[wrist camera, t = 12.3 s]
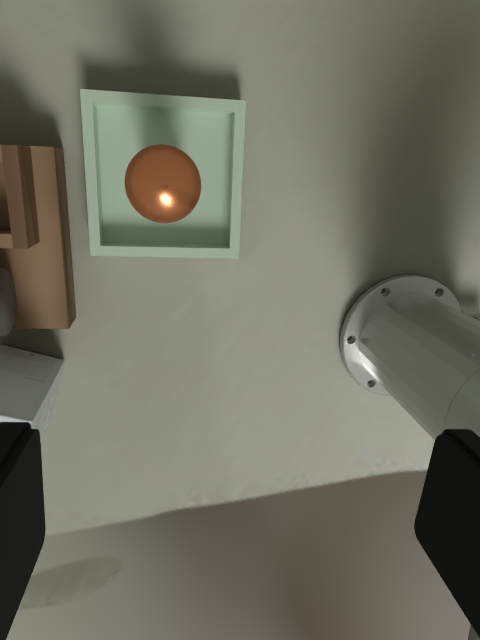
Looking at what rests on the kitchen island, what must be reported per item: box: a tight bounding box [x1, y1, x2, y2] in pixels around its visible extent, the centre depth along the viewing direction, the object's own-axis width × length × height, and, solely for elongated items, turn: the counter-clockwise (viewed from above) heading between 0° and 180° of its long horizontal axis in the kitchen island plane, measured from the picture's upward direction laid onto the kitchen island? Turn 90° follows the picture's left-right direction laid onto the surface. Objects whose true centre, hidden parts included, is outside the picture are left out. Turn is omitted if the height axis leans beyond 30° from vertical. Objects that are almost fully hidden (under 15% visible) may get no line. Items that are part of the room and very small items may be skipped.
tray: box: [80, 89, 246, 258], centre depth 36 cm, size 12×12×2 cm
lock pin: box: [125, 144, 201, 223], centre depth 31 cm, size 4×4×11 cm
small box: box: [0, 345, 64, 443], centre depth 36 cm, size 8×6×10 cm
